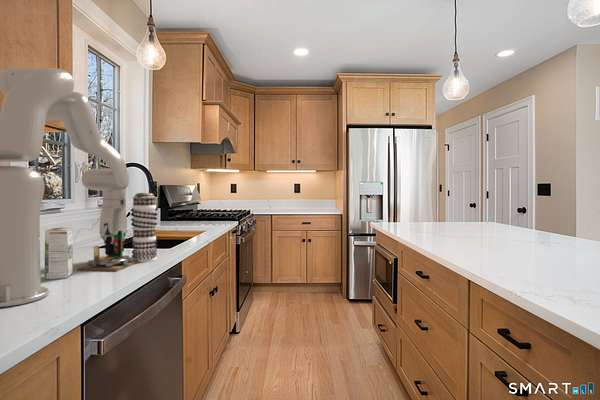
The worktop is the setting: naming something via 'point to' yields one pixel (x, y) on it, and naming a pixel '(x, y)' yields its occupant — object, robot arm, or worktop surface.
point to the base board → (104, 268)
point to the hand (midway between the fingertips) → (114, 252)
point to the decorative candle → (144, 227)
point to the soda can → (117, 243)
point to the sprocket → (108, 259)
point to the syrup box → (58, 253)
